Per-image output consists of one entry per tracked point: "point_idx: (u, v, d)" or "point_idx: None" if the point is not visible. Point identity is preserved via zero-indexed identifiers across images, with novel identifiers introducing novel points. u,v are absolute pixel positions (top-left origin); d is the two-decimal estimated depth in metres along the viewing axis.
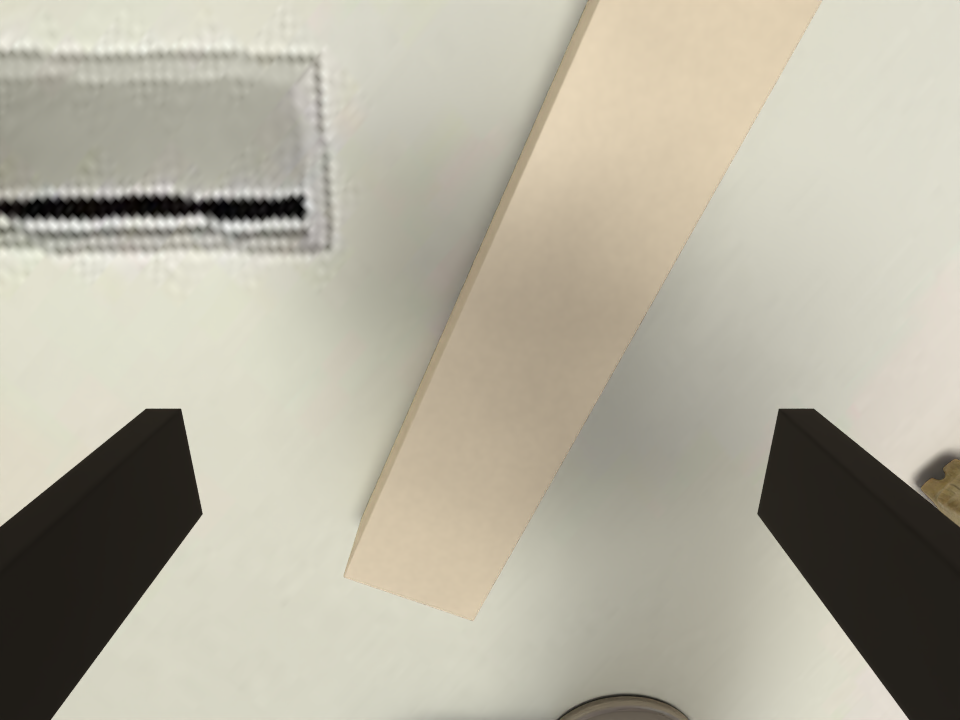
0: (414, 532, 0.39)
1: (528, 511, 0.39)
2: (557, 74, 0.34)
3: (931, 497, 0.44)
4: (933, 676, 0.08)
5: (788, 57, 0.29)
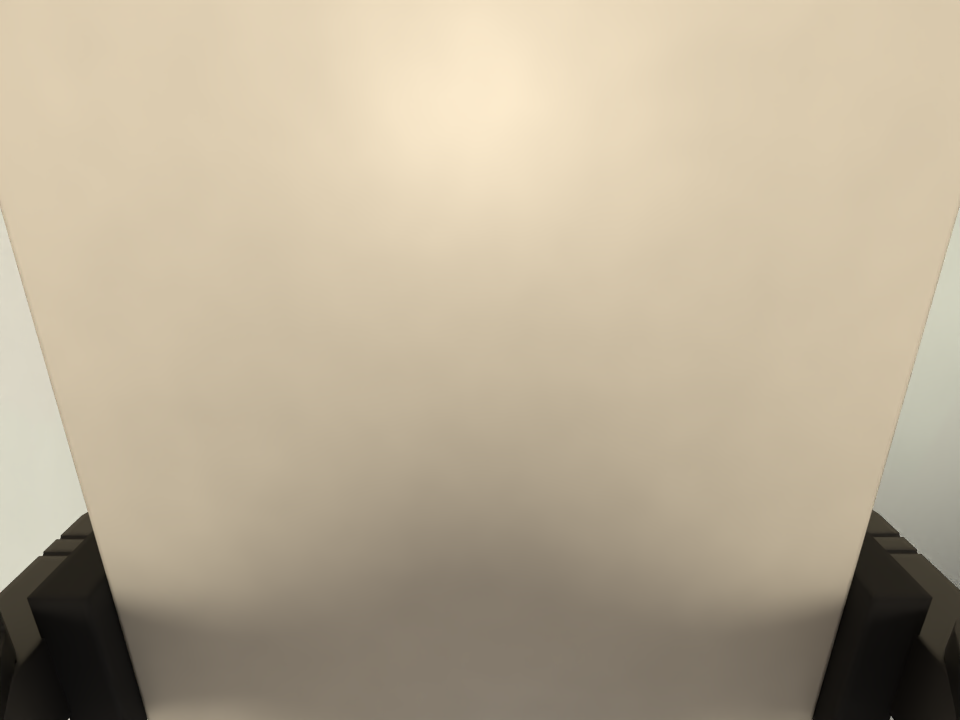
0: (350, 647, 0.08)
1: (886, 329, 0.06)
2: None
3: None
4: None
5: None
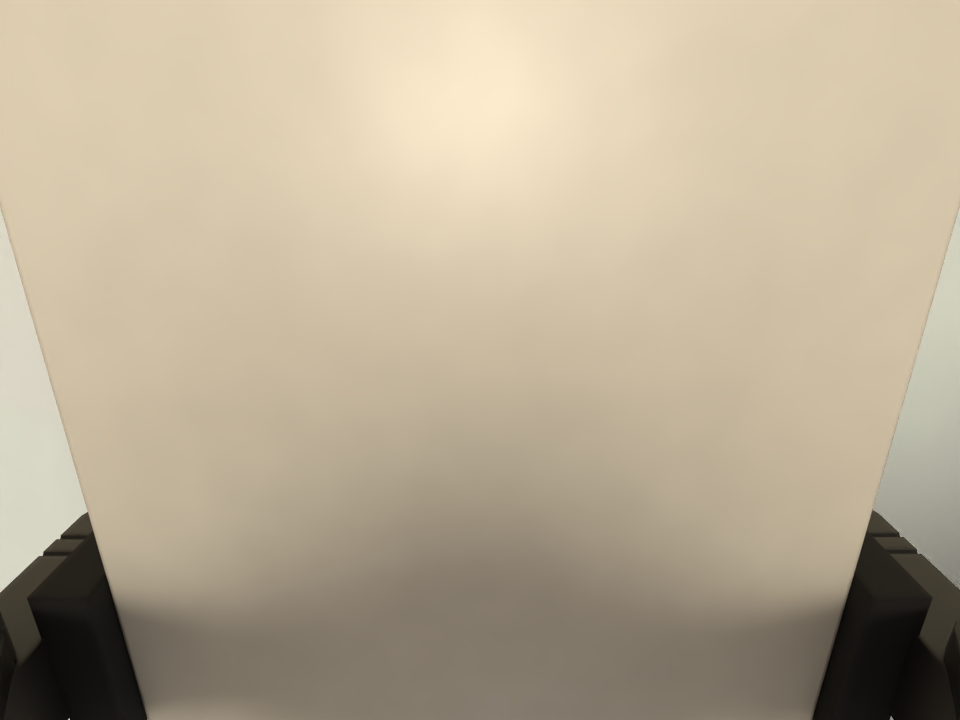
0: (350, 647, 0.08)
1: (886, 329, 0.06)
2: None
3: None
4: None
5: None
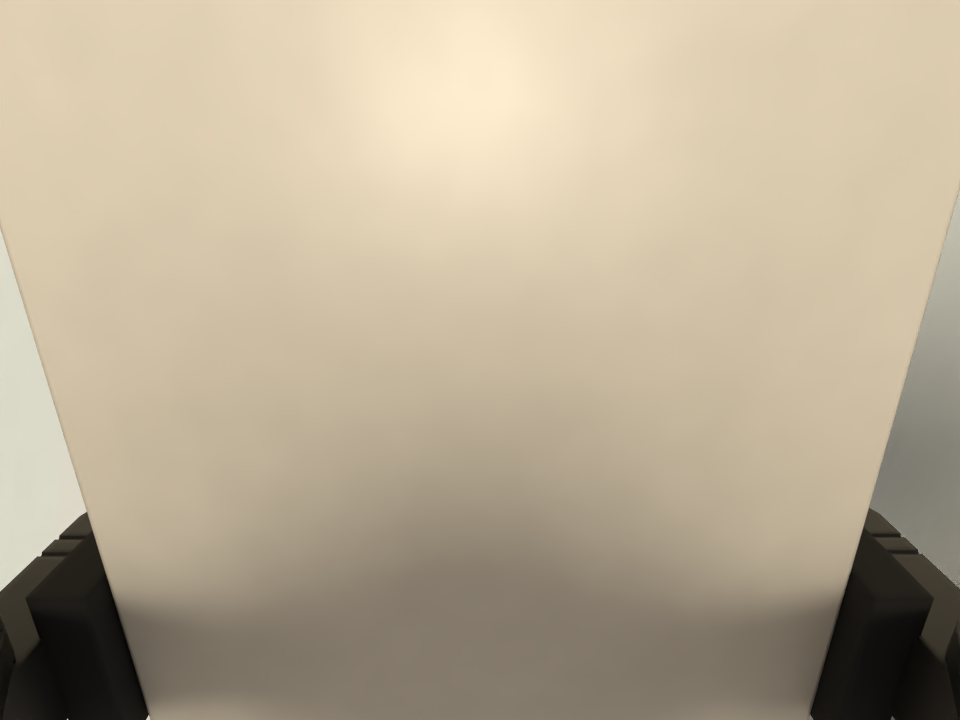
0: (351, 646, 0.08)
1: (885, 325, 0.06)
2: None
3: None
4: None
5: None
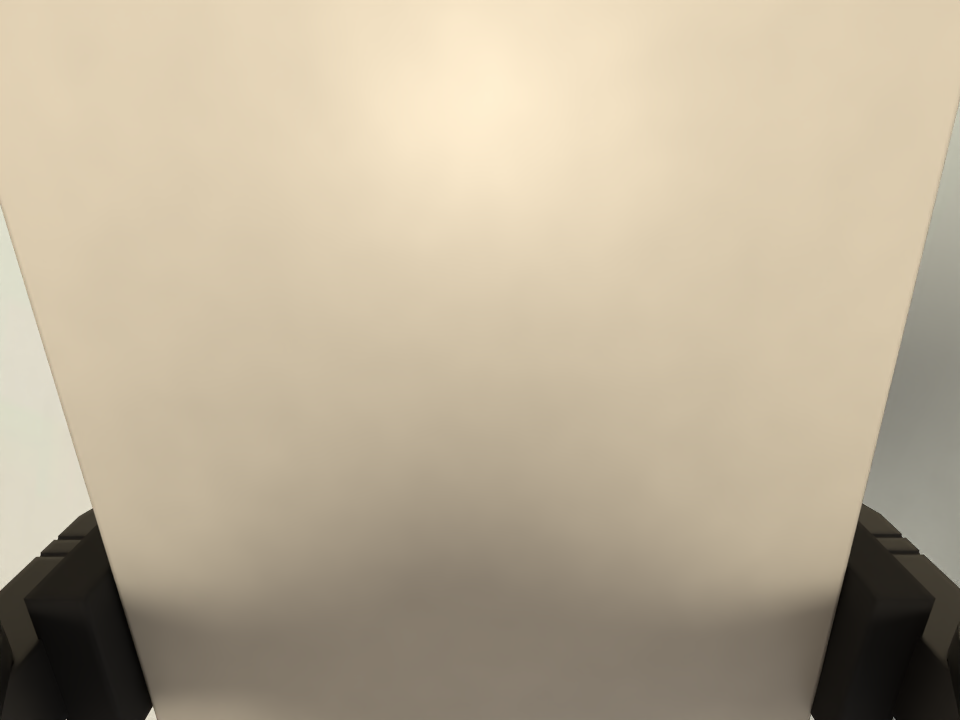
0: (354, 640, 0.08)
1: (872, 310, 0.07)
2: None
3: None
4: None
5: None
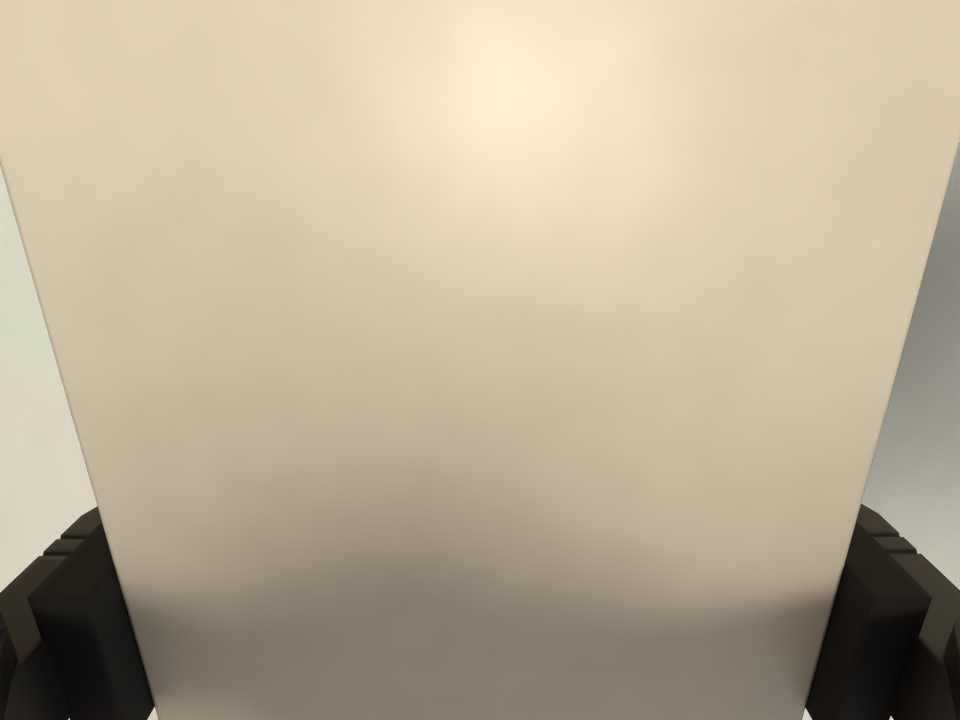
0: (353, 634, 0.08)
1: (876, 317, 0.07)
2: None
3: None
4: None
5: None
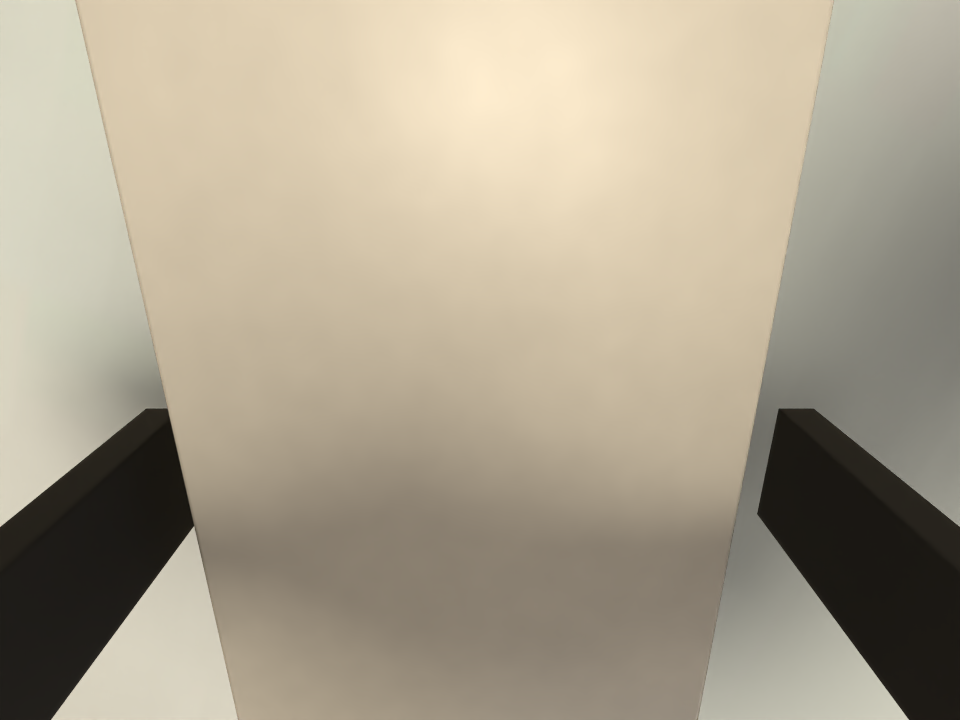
0: (367, 521, 0.11)
1: (757, 263, 0.09)
2: None
3: None
4: (933, 676, 0.08)
5: None
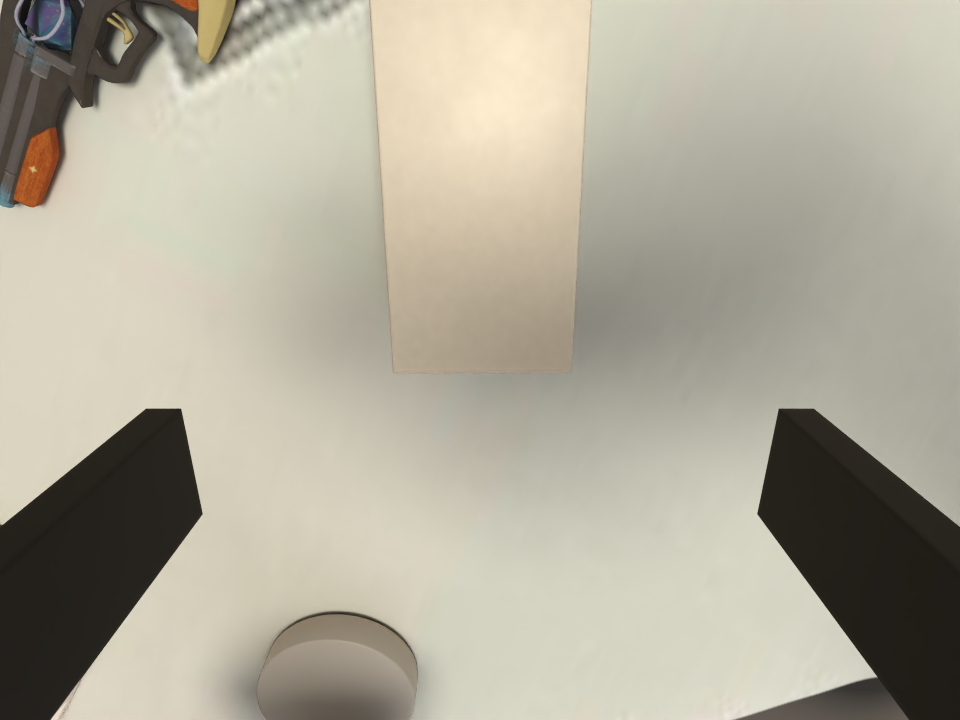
0: (447, 275, 0.30)
1: (573, 181, 0.29)
2: None
3: None
4: (933, 676, 0.08)
5: None
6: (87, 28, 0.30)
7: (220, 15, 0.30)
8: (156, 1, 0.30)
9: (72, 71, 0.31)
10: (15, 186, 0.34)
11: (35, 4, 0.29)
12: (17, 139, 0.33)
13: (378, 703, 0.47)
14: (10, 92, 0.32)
